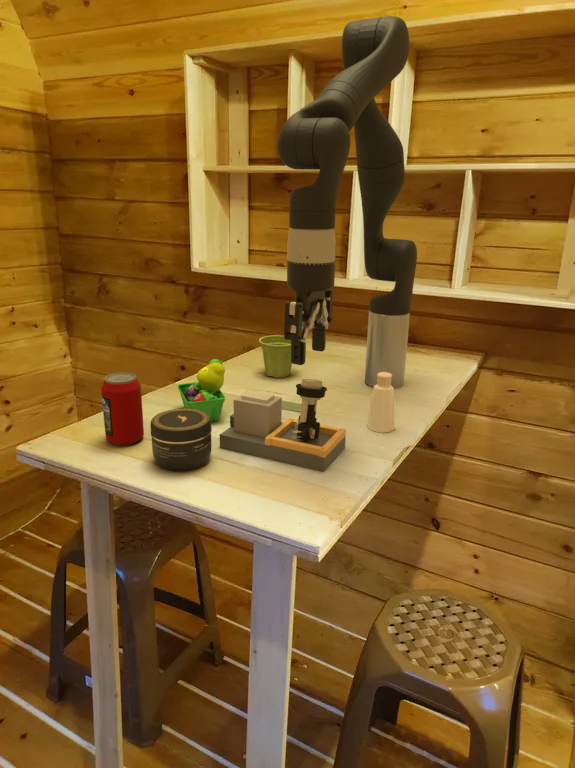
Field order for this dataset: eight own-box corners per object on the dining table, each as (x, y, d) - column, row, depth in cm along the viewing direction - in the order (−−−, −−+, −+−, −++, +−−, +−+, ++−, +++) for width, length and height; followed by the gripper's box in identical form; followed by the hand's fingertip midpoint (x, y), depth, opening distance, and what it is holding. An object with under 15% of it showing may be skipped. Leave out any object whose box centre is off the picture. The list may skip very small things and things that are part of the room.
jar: (185, 442, 106) (183, 403, 104) (224, 458, 100) (223, 417, 98) (140, 461, 99) (137, 419, 96) (179, 480, 93) (177, 436, 90)
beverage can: (112, 431, 110) (107, 370, 106) (148, 432, 110) (144, 371, 106) (100, 447, 104) (94, 383, 100) (138, 448, 104) (133, 384, 100)
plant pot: (290, 367, 149) (290, 334, 147) (302, 378, 141) (303, 343, 138) (254, 370, 147) (254, 336, 144) (265, 382, 138) (265, 346, 135)
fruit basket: (177, 407, 122) (174, 355, 119) (218, 402, 125) (217, 351, 122) (188, 427, 112) (186, 371, 109) (233, 421, 115) (232, 367, 112)
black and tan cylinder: (305, 444, 97) (312, 385, 95) (279, 437, 100) (286, 379, 98) (326, 438, 102) (333, 382, 101) (301, 431, 105) (307, 377, 104)
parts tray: (264, 403, 125) (264, 395, 124) (314, 413, 120) (315, 404, 120) (237, 422, 115) (237, 414, 114) (291, 433, 110) (291, 424, 110)
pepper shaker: (393, 434, 111) (397, 379, 107) (364, 431, 112) (368, 376, 109) (396, 423, 116) (400, 370, 112) (368, 420, 117) (372, 368, 114)
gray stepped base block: (246, 427, 113) (245, 382, 110) (345, 448, 105) (347, 400, 102) (218, 447, 104) (217, 399, 101) (324, 471, 96) (326, 420, 93)
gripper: (315, 265, 84) (312, 372, 89) (349, 254, 96) (344, 349, 102) (269, 261, 87) (269, 365, 92) (307, 251, 99) (305, 343, 105)
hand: (308, 357), depth 97 cm, fingers open, 8 cm apart
